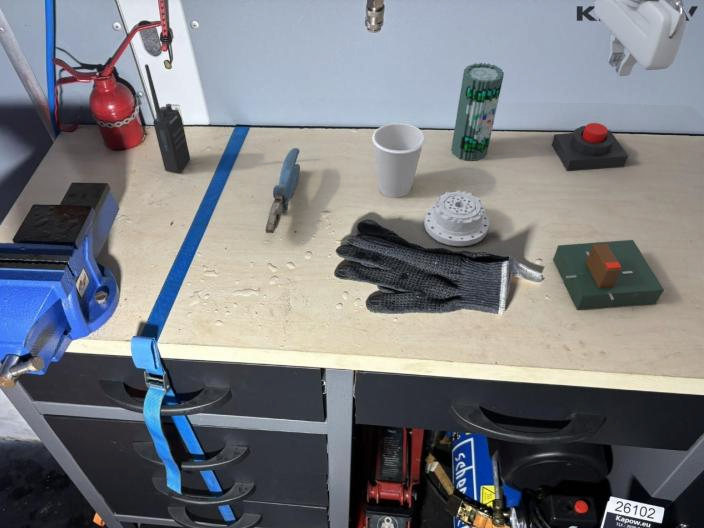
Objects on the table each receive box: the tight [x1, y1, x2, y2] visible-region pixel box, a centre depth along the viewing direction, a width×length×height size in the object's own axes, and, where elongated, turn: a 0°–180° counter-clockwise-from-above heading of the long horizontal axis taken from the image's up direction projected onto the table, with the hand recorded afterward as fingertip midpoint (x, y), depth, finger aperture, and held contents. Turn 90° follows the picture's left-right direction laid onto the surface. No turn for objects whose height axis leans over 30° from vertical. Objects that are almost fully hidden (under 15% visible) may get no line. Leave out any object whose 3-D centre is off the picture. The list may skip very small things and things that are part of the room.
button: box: [582, 122, 609, 143], centre depth 103 cm, size 4×4×2 cm
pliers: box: [265, 147, 301, 234], centre depth 99 cm, size 20×2×6 cm, turn 168°
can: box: [450, 62, 505, 162], centre depth 104 cm, size 6×6×15 cm
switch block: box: [551, 125, 629, 172], centre depth 105 cm, size 10×8×4 cm
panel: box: [552, 239, 665, 311], centre depth 85 cm, size 12×11×3 cm
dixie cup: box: [371, 122, 426, 199], centre depth 100 cm, size 8×8×10 cm
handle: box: [586, 244, 622, 288], centre depth 82 cm, size 5×2×4 cm, turn 3°
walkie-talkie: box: [144, 63, 191, 174], centre depth 103 cm, size 5×3×20 cm
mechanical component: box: [423, 189, 490, 247], centre depth 94 cm, size 10×4×10 cm
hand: (618, 69), depth 95 cm, fingers closed
